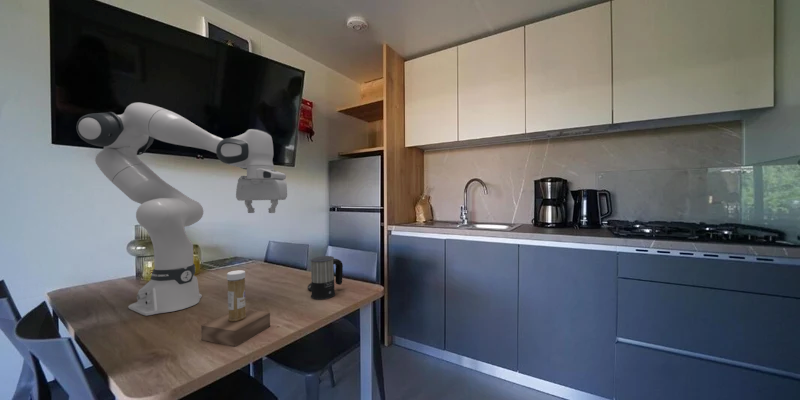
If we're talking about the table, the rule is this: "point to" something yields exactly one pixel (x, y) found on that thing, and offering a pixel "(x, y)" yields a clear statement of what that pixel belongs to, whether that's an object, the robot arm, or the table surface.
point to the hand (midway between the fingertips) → (261, 213)
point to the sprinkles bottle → (236, 295)
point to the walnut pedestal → (235, 328)
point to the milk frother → (324, 276)
